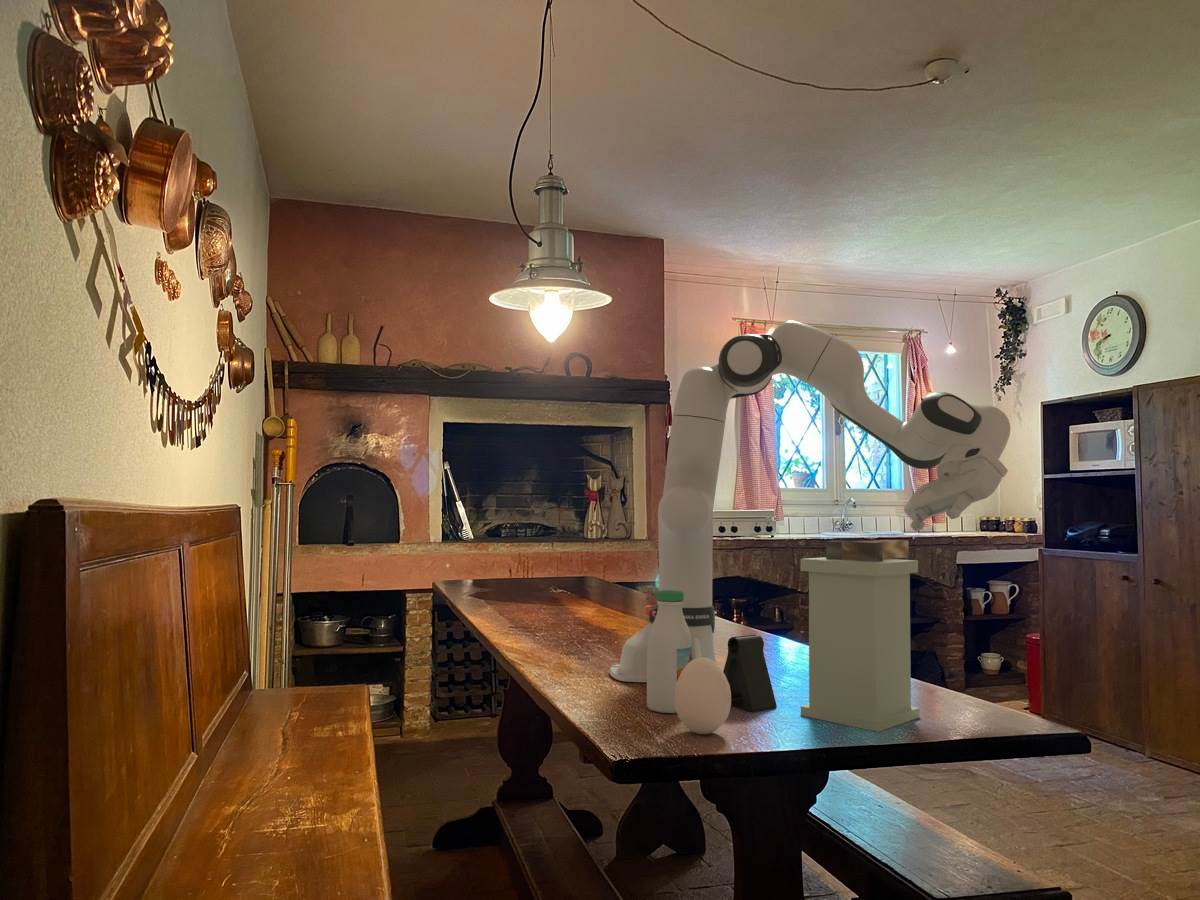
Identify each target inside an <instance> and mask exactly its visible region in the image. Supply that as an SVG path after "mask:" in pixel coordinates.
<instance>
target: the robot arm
mask: <svg viewBox="0 0 1200 900" xmlns="http://www.w3.org/2000/svg"><path fill="white" fill-rule="evenodd" d="M778 374H785V375H789V376H791V377H794V378H796V379H797V380H800V381H801V382H804V383H805V384H808V385H809V386H810V387H812V388H814V389H815V390H817V391H819V393H821V395H823V396H824V397H825V398H826V399H827V400H828V402H830V404H831V406H832V407H833V408H834V410H835V411H836V412H838V413H839V414H840V415H841V416H843V417H844V418H845V419H847V420H848V421H849V422H850V423H853V424H854V425H855V426H856V427H858V428H859V429H861V430H863V431H864V432H865V433H867V434H869V435H870V436H871V437H872V438H874V439H876V440H877V441H878V442H880V443H882V444H883V445H884V446H886V447H887V448H888V449H889V450H891V452H892V453H894V455H896V456H897V458H898V459H899V460H900V461H901V462H903V463H904V464H906V465H907V466H910V467H912V468H914V469H919V470H928V469H932V468H935V467H936V476H937V479H934V480H932V481H928V482H925V483H924V484H922V485H921V486H919V487H918V488H917V490H915V492H913V494H912V496H911V497H910V498H909V499H908V501H907V502H906V504H905V506H904V507H903V512H904V513H905V514H906V515H907V516H908V517H909V519H911V520H912V521H911V523H910V528H911V529H912V530H913V531H914V532H919V531H921V530H923V529H924V527H925V525H926V523H925V522H924V521H925V520H926V519H929V518H932V517H935V516H938V515H941V514H944V513H946V514H945V515H946V516H947V517H949V519H951V520H955V519H958V518H959V517H961V515H962V513H963V512H964V511H965V510H966V509H967V508H969V507H970V506H971V505H972V504H973V503H976V502H979V501H981V500H985V499H987V498H989V497H990V496H992V495H993V494H994V493H995V491H996V490H997V489H998V487H999V485H1000V483H1001V481H1002V479H1003V478H1004V477H1005V476H1006V475H1007V473H1008V472H1009V471H1008V468H1007V467H1006V466H1005V465H1004V464H1003V463H1002V461H1001V460H1000V458H1001V456H1002V454H1003V452H1004V451H1005V448H1006V446H1007V444H1008V441H1009V438H1010V435H1011V423H1010V420H1009V418H1008V416H1007V415H1006V414H1005V413H1004V412H1003V411H1002V410H1001V409H1000V408H997V407H996V406H994V405H987V404H983V405H975V404H971V403H968V402H966V401H965V400H964V399H962V398H961V397H959V396H957V395H955V394H952V393H949V392H945V391H935V392H931V393H929V394H927V395H925V396H924V397H923V399H921V401H920V402H919V404H918V405H917V407H916V409H914V411H913V413H912V415H911V416H910V418H908V421H905V420H901V419H900V418H898V417H897V416H895V415H893V414H892V413H891V412H889V411H887V410H886V409H885V408H883V407H881V406H880V405H879V404H877V403H875V402H874V400H872V399H871V397H869V395H868V393H867V390H866V388H865V387H866V386H865V381H864V380H865V378H864V377H865V368H864V361H863V358H862V357H861V353H859V350H858V349H856V347H854V346H853V345H851V344H850V342H847V341H846V340H844V339H842V338H840V337H838V336H836V335H834V334H832V333H829V332H827V331H825V330H823V329H821V328H818V327H815V326H812V325H810V324H807V323H804V322H800V321H796V320H786V321H784V322H782V323H780V324H779V325H778V326H777V327H776V328H775V329H774V330H773V331H772V333H771V334H768V333H757V334H750V333H749V334H739V335H737V336H734V337H732V338H730V339H729V340H728V341H727V342H726V343H725V344H724V345H723V347H722V348H721V351H720V353H719V356H718V363H716V364H715V365H713V366H697V367H693V368H690V369H689V370H687V371H686V372H685V373H684V374H683V376H682V377H681V382H680V384H679V386H678V389H677V390H678V391H677V394H676V398H675V401H674V405H673V413H672V420H671V426H670V433H669V438H668V439H669V441H668V446H667V447H668V448H667V454H666V455H667V456H666V463H665V464H666V465H665V466H666V467H665V474H664V475H665V476H664V485H663V492H662V497H661V498H660V500H659V503H658V508H657V527H658V528H657V529H658V533H657V534H658V591H662V590H675V591H682V592H683V594H684V600H683V603H684V604H683V605H682V611H683V615H684V618H685V621H686V623H687V626H688V628H689V631H690V634H691V640H692V660H694V659H696V658H700V657H703V658H708V659H711V660H712V661H714V662H715V663H716V664H717V665H718V662H717V657H716V656H717V655H716V649H715V641H714V634H715V629H716V613H715V606H714V605H713V561H714V560H713V557H714V556H713V553H714V552H713V550H714V549H713V548H714V547H713V546H714V545H713V543H714V541H713V540H714V537H713V536H714V534H713V533H714V505H715V504H714V503H715V497H716V491H717V485H718V484H717V483H718V477H719V470H720V464H721V463H720V462H721V457H722V448H723V442H724V434H725V428H726V419H727V414H728V413H727V412H728V407H729V403H730V401H731V399H738V398H742V397H748V396H753V395H756V394H758V393H761V392H762V391H764V390H765V389H766V388H767V387H768V385H769V384H770V382H771V380H772V377H773V376H774V375H778ZM657 611H658V604H656V605H655V606H652V605H650V604H649V605H647V604H646V605H645V607H644V608H643V612H644V614H645V615H647V616H648V622H649V623H647V625H645V626H644V627H643V628H641V629H640V630H638V632H636V633H635V634H634V635H632V636H631V637H630V638H628V639H627V640H626V641H625V643H624V645H623V646H622V652H621V654H620V664H614V665H611V667H610V668H609V675H610V677H612V678H613V679H615V680H617V681H621V682H626V683H627V682H628V683H647V650H648V637H649V632H650V629H651V627H652V625H653V623H654V620H655V618H656V615H657Z"/></svg>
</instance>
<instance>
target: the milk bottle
mask: <svg viewBox="0 0 1200 900" xmlns="http://www.w3.org/2000/svg"><path fill="white" fill-rule="evenodd" d="M683 600H684V594H683V592H682V591H675V590H662V591H659V590H658V591H657V592H656V605H658V611H657V615H656V618H655V620H654V623H653V625H652V627H651V629H650V632H649V637H648V650H647V682H646V706H647V709H648V710H650V711H653V712H657V713H664V714H677V712H676V708H675V702H674V695H675V687H676V683H677V681H678V678H679V676H680V674H681V672H682V670H683V669H684V668H685V667H686V665H687V664H688V663H689V662H691V661H692V640H691V634H690V631H689V628H688V626H687V623H686V621H685V618H684V615H683V611H682V605H683V604H684V603H683Z"/></svg>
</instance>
